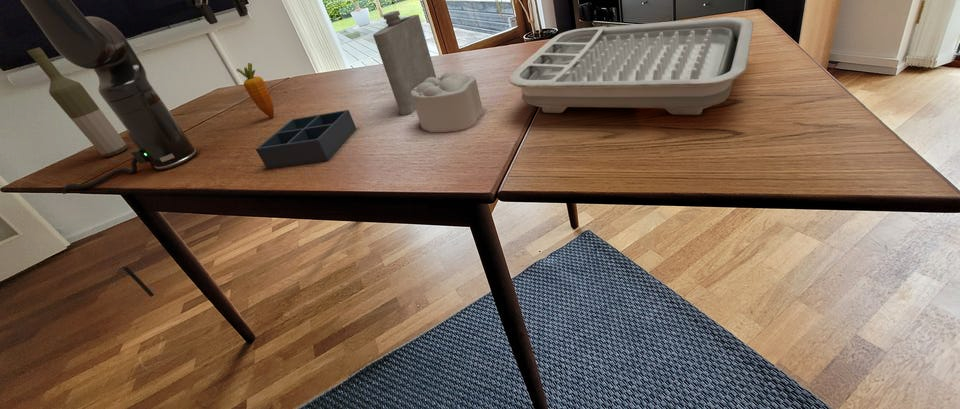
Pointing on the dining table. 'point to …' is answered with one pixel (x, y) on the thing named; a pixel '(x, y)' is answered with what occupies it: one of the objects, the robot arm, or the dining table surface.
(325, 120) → the four-compartment tray
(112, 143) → the bottle
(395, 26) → the hip flask
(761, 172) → the dining table surface
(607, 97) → the dish rack
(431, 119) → the lumpy-topped squat cylinder
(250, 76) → the carrot
